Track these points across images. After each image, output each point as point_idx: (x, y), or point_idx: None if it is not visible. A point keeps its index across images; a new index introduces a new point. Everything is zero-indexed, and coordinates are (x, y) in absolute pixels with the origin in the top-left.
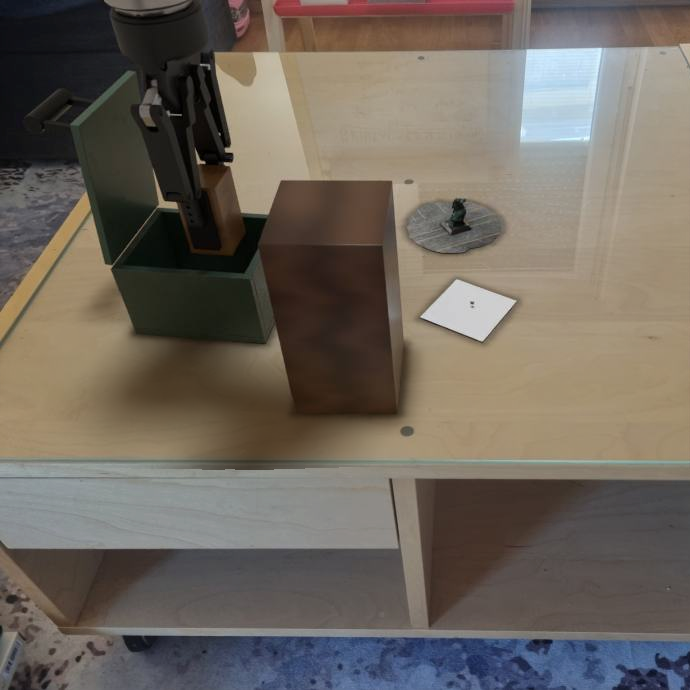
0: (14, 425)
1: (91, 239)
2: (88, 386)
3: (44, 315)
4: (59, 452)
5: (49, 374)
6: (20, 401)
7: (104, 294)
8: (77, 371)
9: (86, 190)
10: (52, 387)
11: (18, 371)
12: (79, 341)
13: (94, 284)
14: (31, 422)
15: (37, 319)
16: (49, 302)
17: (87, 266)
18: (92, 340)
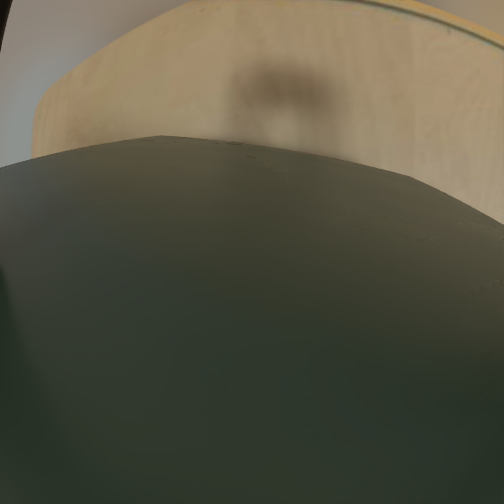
0: (65, 80)
1: (429, 40)
2: (108, 129)
3: (250, 16)
4: (35, 145)
5: (131, 72)
6: (94, 65)
7: (298, 78)
8: (133, 103)
9: (25, 161)
10: (110, 87)
11: (140, 36)
12: (190, 79)
13: (324, 58)
14: (66, 95)
15: (241, 11)
16: (280, 13)
17: (368, 41)
18: (191, 96)
